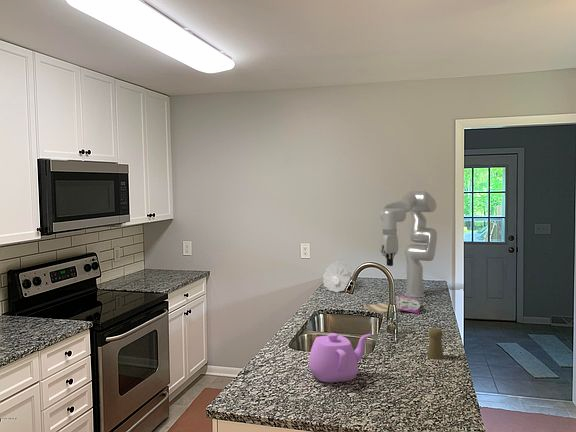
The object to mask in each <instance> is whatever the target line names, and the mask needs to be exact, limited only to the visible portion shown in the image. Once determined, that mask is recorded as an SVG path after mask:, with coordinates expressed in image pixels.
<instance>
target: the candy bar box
mask: <svg viewBox="0 0 576 432" xmlns="http://www.w3.org/2000/svg"><path fill="white" fill-rule="evenodd" d="M395 303H396V306H397V307H398V310H401V311H405V312H408V313H409V312H410V313H413V314H419V313H420V310H421V303H420V301H419V300H418V298H413V297H408V296H405V295H404V294H398V293H397V297H396V302H395Z"/></svg>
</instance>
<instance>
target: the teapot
mask: <svg viewBox="0 0 576 432" xmlns="http://www.w3.org/2000/svg"><path fill="white" fill-rule="evenodd" d="M371 335H372V333H366V334H363V335H362V336H361V337H360V338H359V340H358V343H357V346H356V348H355V349H354V348H353V347H354V346H353V345H352V342H351V341H350V339H348V338H347V337H345V336H343V335H340V334H338V333H335V332H330V333H328V334H327V335H321V336H320V335H319V336H316V337H315V339H314V340H313V341H314V342H313V343H312V346H311V349H310V353H309V359H308V367H309V371H310V372H311V373H312V375H313V376H314V377H315V379H317V380H319V381H320V382H324V383H339V382H347V381H351V380H355V378H356V377H357V374H358V371H359V368H358V367H359V364H358V363H360V362H361V360H362V358H363V356H364V350H365V344H366V341H367V339H368V338H369V337H370V336H371Z"/></svg>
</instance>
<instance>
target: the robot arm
mask: <svg viewBox="0 0 576 432" xmlns="http://www.w3.org/2000/svg"><path fill="white" fill-rule="evenodd" d="M436 209H437V201H436V199H435V198H434V197H433V196H432V195H431V194H430V193H429V192H427V191H425V190H424V191H423V190H422V191H419V190H418V191H417V190H416V191H415V190H414V191H413V190H411V191H408V192H407V193H405V194H404V195H403V197H402V198H401V199H399V200H396V201H393V202H390V203H387V204H386V205H384V207H383V208H381V210H380V212H379V218H380V220H381V221H382V235H381V237H380V244H379V245H380V246H379V251H380V253H381V255H382V256H383V257H385V259H386V266H388V267H393V266H394V258H395V256H396V255H398V251H399V238H398V237H399V236H398V231H397V230H398V229H397V223H402V222H404V221H405V220H406V218H407V213H410V215H411V219H412V221H411V227H410V235H409V236H410V237H409V238H410V241H411V242H412V243H410V244H408V245H407V246H406V247H405V249H404V253H405V254H404V255H405V259H406V291H405V292H403V296H408V297H413V298H417V299H418V298H424V297H425V296H426V293H424V292H427V291H428V288H427V287H423V286H424V284H423V283H424V281H423V280H424V279H423V278H424V276H423V275H424V273H423V272H424V271H423V270H424V269H423V263H421V261H426V262H430V261H431V262H432V261H433V260H434V259H435V256H436V249H437V241H438V233H437V230H436V229H435V228H433V227H427V218H426V217H425V215H424V213H433V212H435V211H436ZM417 243H419V244H417Z"/></svg>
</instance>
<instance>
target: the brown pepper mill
mask: <svg viewBox="0 0 576 432" xmlns="http://www.w3.org/2000/svg"><path fill="white" fill-rule="evenodd" d="M443 335H444V334H443V331H442V329H439V328H430V330H428V336H429V343H428V350H427V358H428V359H431V360H443V359H444V351H443V349H444V348H443V343H442V342H443V341H442V338H443Z"/></svg>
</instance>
